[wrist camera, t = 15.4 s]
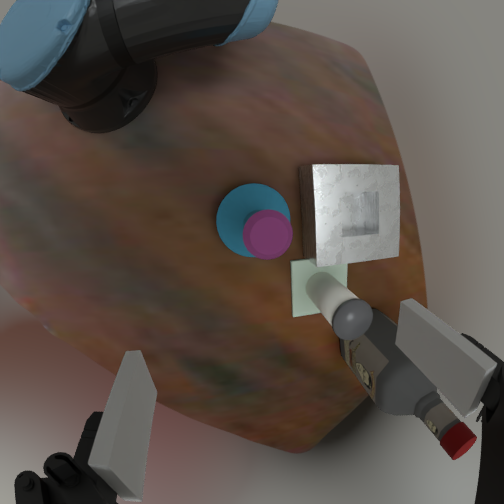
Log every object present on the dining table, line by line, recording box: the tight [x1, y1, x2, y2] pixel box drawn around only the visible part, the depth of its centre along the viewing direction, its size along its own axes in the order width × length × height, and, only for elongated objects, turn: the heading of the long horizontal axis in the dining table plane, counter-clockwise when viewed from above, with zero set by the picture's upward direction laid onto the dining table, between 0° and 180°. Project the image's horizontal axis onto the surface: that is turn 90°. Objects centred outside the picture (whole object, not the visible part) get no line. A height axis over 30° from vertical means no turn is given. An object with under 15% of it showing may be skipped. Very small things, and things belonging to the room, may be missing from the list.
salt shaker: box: [306, 272, 373, 340], centre depth 38 cm, size 5×5×12 cm
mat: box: [290, 259, 347, 317], centre depth 44 cm, size 9×9×1 cm
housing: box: [299, 164, 400, 267], centre depth 39 cm, size 13×13×6 cm
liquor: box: [340, 309, 477, 460], centre depth 33 cm, size 9×9×30 cm
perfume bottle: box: [216, 183, 293, 260], centre depth 33 cm, size 9×9×15 cm
